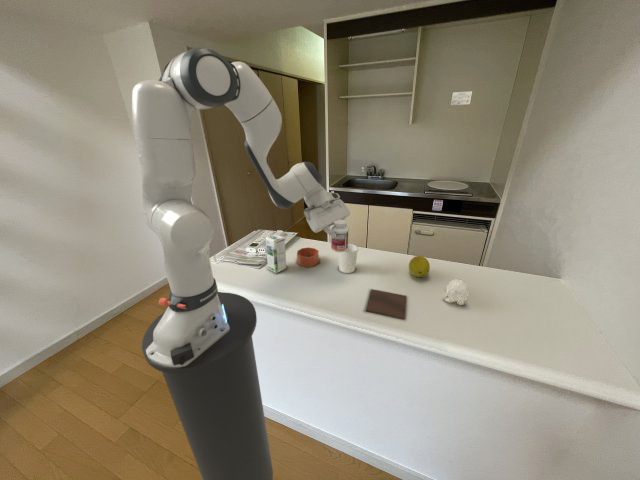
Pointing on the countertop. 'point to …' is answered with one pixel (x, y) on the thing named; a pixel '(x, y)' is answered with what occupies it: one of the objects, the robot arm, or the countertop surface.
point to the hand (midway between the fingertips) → (341, 233)
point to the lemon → (419, 266)
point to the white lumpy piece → (457, 292)
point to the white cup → (348, 259)
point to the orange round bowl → (307, 257)
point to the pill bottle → (340, 236)
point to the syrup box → (276, 253)
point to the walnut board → (386, 304)
